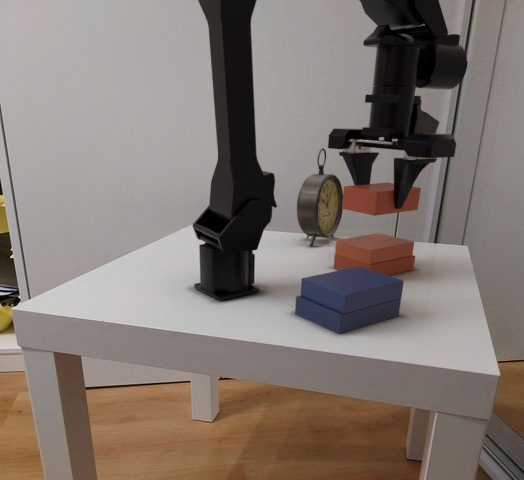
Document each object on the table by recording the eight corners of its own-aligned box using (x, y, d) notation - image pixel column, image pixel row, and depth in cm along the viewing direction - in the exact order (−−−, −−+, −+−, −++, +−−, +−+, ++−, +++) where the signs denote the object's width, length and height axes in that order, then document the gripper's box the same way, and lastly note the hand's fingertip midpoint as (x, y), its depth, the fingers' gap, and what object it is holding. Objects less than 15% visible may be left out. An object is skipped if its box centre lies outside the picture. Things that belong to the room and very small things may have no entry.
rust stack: (369, 280, 76) (372, 250, 74) (333, 268, 82) (335, 239, 80) (413, 269, 82) (417, 241, 80) (376, 259, 87) (380, 232, 85)
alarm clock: (316, 249, 92) (322, 150, 86) (289, 244, 95) (293, 148, 88) (342, 238, 101) (349, 147, 94) (316, 234, 103) (322, 145, 97)
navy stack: (339, 334, 58) (342, 295, 56) (294, 313, 63) (296, 278, 61) (399, 315, 63) (404, 280, 61) (354, 298, 69) (357, 265, 67)
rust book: (374, 215, 73) (377, 191, 72) (341, 208, 78) (343, 186, 76) (417, 210, 78) (421, 187, 77) (384, 203, 83) (387, 182, 82)
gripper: (490, 88, 69) (468, 210, 75) (381, 90, 82) (370, 193, 89) (438, 84, 63) (418, 217, 69) (329, 86, 76) (321, 198, 83)
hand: (380, 205), depth 78 cm, fingers closed on rust book, 6 cm apart
